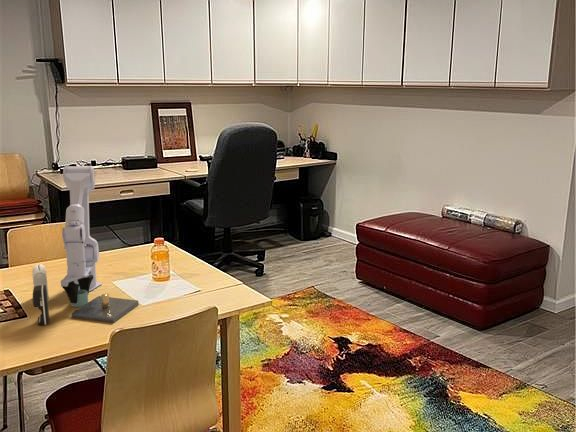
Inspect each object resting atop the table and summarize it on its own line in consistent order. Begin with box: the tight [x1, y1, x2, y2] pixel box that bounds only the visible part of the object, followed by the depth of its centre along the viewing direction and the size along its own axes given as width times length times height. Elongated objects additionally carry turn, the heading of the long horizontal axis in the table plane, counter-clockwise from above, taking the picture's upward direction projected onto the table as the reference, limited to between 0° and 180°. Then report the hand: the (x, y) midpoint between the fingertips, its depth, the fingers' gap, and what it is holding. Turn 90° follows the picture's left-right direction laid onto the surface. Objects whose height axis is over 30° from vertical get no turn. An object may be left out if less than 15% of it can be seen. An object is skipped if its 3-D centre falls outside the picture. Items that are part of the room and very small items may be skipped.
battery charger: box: [32, 285, 50, 326], centre depth 168 cm, size 7×4×11 cm, turn 22°
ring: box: [70, 289, 89, 308], centre depth 183 cm, size 5×5×4 cm
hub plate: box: [71, 293, 139, 324], centre depth 177 cm, size 15×15×6 cm
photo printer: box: [31, 263, 50, 303], centre depth 185 cm, size 10×4×12 cm, turn 26°
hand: (79, 299), depth 183 cm, fingers closed on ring, 5 cm apart
